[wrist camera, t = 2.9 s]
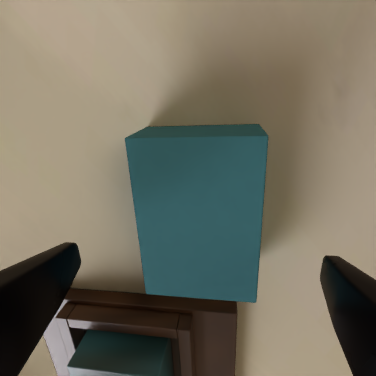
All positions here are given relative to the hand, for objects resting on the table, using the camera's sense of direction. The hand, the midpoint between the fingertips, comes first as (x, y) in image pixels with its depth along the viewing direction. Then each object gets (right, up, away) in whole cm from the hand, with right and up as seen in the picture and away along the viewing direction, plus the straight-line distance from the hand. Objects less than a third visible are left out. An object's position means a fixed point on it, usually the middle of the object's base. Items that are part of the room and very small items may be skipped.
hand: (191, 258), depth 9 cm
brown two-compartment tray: (-3, -15, +12) cm, 19 cm away
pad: (+1, +2, +5) cm, 5 cm away
